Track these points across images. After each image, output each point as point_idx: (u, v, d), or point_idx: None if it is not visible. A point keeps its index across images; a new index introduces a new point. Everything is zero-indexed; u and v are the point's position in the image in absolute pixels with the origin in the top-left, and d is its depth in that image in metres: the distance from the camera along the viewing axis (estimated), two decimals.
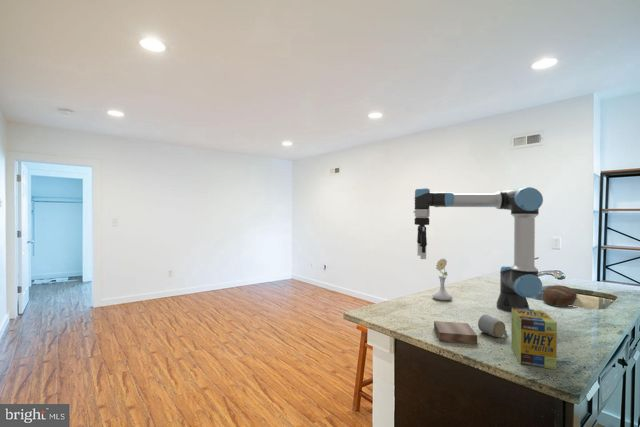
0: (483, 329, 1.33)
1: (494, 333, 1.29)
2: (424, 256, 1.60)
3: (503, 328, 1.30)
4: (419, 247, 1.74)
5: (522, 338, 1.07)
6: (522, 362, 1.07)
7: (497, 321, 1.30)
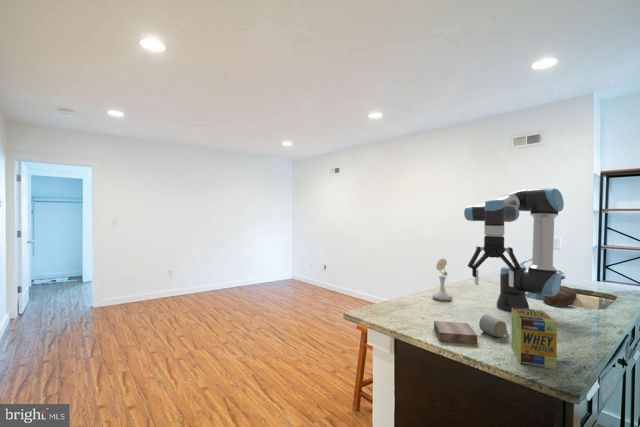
0: (484, 329, 1.34)
1: (495, 333, 1.29)
2: (475, 281, 1.35)
3: (504, 328, 1.31)
4: (509, 275, 1.33)
5: (522, 338, 1.07)
6: (522, 362, 1.07)
7: (498, 321, 1.30)
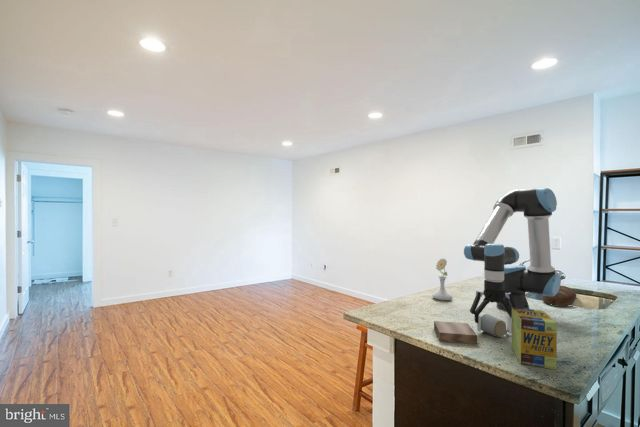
0: (484, 328, 1.34)
1: (495, 332, 1.29)
2: (478, 327, 1.35)
3: (504, 327, 1.31)
4: (507, 321, 1.34)
5: (522, 338, 1.07)
6: (522, 362, 1.07)
7: (498, 320, 1.31)
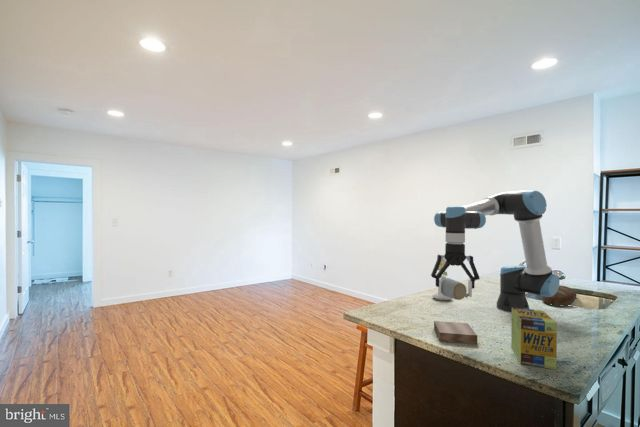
0: (444, 292, 1.31)
1: (454, 295, 1.27)
2: (438, 291, 1.32)
3: (464, 290, 1.28)
4: (468, 284, 1.31)
5: (522, 338, 1.07)
6: (522, 362, 1.07)
7: (458, 283, 1.28)
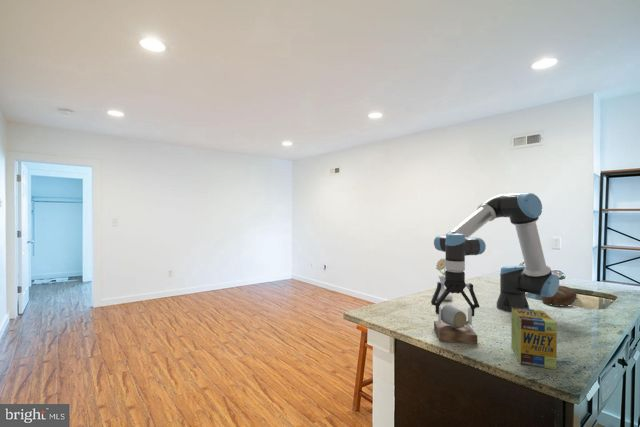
0: (444, 320, 1.31)
1: (454, 324, 1.27)
2: (438, 318, 1.32)
3: (464, 319, 1.28)
4: (468, 312, 1.31)
5: (522, 338, 1.07)
6: (522, 362, 1.07)
7: (458, 311, 1.28)
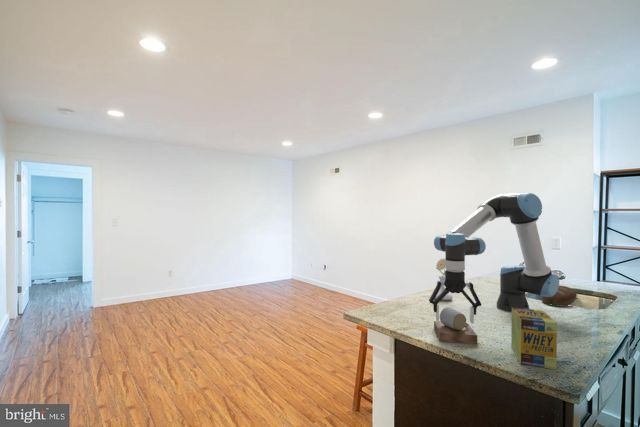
0: (444, 322, 1.31)
1: (454, 326, 1.27)
2: (436, 317, 1.32)
3: (464, 321, 1.28)
4: (470, 311, 1.31)
5: (522, 338, 1.07)
6: (522, 362, 1.07)
7: (457, 314, 1.28)
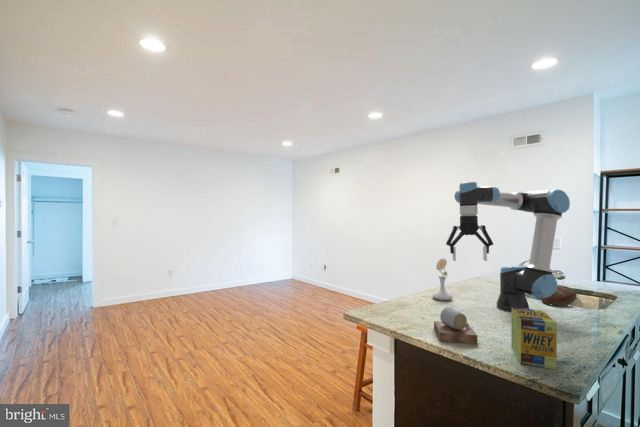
0: (445, 322, 1.32)
1: (455, 326, 1.27)
2: (453, 257, 1.48)
3: (464, 321, 1.29)
4: (483, 250, 1.47)
5: (522, 338, 1.07)
6: (522, 362, 1.07)
7: (458, 313, 1.28)
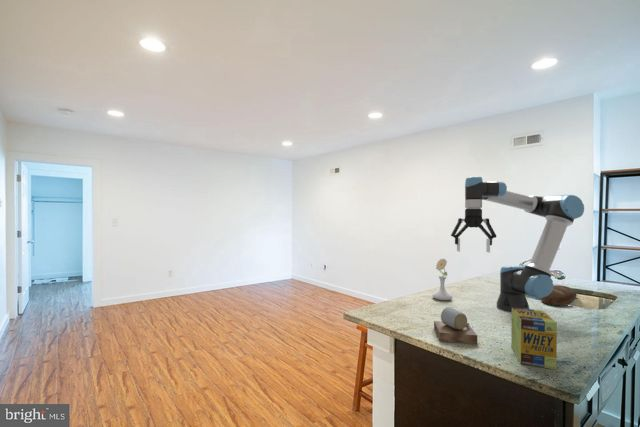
0: (445, 322, 1.32)
1: (455, 325, 1.27)
2: (457, 248, 1.55)
3: (465, 320, 1.29)
4: (487, 242, 1.54)
5: (522, 338, 1.07)
6: (522, 362, 1.07)
7: (458, 313, 1.28)
